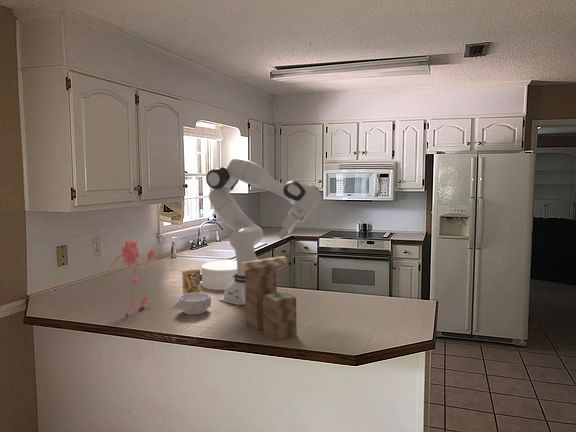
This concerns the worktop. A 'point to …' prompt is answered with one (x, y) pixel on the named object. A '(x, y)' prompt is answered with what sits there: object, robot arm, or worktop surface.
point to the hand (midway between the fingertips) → (279, 237)
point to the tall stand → (258, 293)
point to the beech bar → (263, 263)
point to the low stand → (279, 315)
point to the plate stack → (218, 274)
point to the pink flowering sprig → (130, 257)
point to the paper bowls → (194, 303)
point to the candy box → (191, 281)
